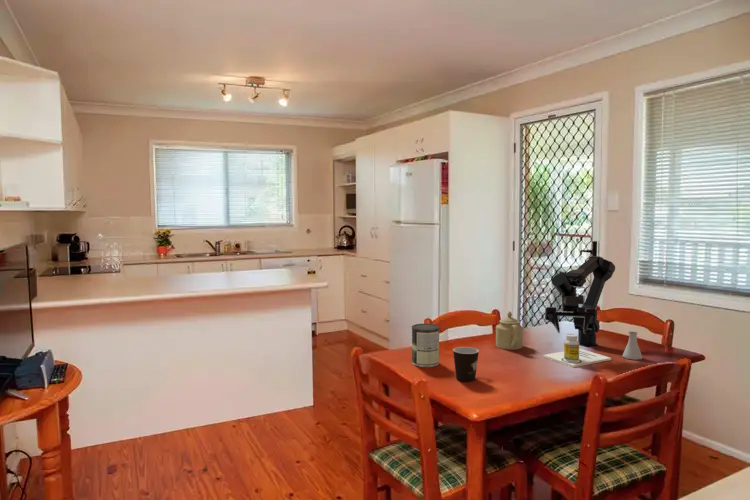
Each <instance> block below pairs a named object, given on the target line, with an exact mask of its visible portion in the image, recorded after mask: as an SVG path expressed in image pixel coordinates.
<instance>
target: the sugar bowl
mask: <svg viewBox="0 0 750 500" xmlns="http://www.w3.org/2000/svg"><path fill="white" fill-rule="evenodd" d="M512 316H513V314H512V311H508V312H507V316H506V317H503V318H502V319H500V320H499V324H496V325H495V346H496V347H497V348H498V349H500V350H501V349H502V350H508V351H510V350H511V351H513V350H521V349H523V347H524V346H523V345H524V327H523V326H522V325H520V323H521V322H520V320H518V319H517V318H514V317H512Z"/></svg>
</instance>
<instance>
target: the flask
mask: <svg viewBox="0 0 750 500" xmlns="http://www.w3.org/2000/svg"><path fill="white" fill-rule="evenodd" d="M628 334H629V336H628V342H627V344H626V346H625V348H624V351H623V354H622V357H623V358H625V359H627V360H637V361H638V360H642V359H643V355H642V353H641V350H640V347H639V344H638V339H637V338H638V337H637V335H638V332H636V331H628Z"/></svg>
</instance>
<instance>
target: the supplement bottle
mask: <svg viewBox="0 0 750 500" xmlns="http://www.w3.org/2000/svg"><path fill="white" fill-rule="evenodd" d="M565 338H566V339H565V340H564V342H563V351H564V360H566V361H569V362H577V361H579V349H580V344H579V341H578V335H577V334H575V333H567V334H566V335H565Z"/></svg>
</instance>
